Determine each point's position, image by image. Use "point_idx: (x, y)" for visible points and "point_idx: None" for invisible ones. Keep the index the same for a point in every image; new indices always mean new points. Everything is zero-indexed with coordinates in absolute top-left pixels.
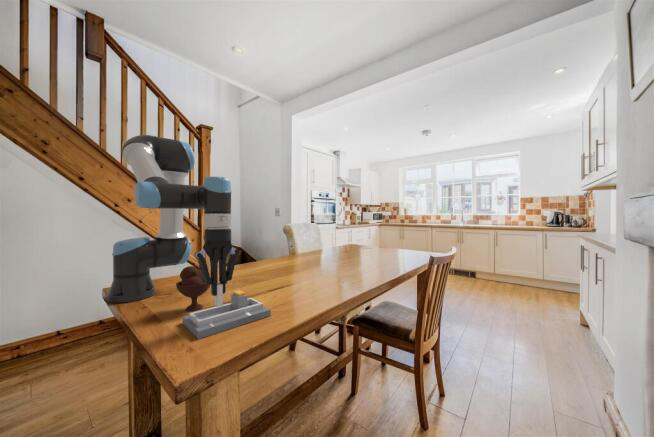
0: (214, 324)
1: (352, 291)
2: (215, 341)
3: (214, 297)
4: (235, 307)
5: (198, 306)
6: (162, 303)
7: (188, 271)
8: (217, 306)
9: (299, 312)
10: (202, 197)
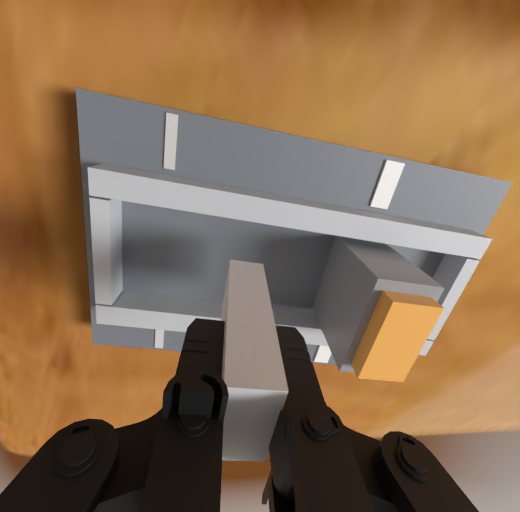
0: (172, 332)
1: None
2: (147, 371)
3: (228, 288)
4: (327, 293)
5: None
6: None
7: None
8: (222, 305)
9: (457, 395)
10: None
